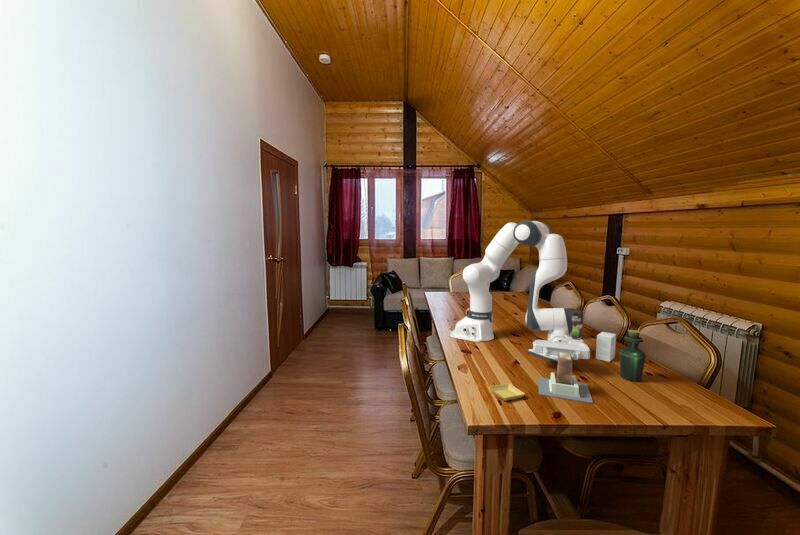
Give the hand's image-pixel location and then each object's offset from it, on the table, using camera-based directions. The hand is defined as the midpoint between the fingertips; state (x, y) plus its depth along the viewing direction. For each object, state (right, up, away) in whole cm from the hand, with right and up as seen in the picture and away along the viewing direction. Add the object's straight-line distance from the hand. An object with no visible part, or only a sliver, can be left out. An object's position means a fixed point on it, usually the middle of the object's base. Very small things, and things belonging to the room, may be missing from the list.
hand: (561, 355), depth 126 cm
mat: (-4, -9, -10) cm, 14 cm away
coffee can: (+29, -3, +50) cm, 58 cm away
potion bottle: (+26, -8, 0) cm, 27 cm away
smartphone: (+5, -7, +23) cm, 24 cm away
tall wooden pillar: (-4, -8, -10) cm, 14 cm away
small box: (+28, -6, +20) cm, 35 cm away
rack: (-4, -9, -10) cm, 14 cm away
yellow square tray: (-25, -10, -13) cm, 30 cm away
